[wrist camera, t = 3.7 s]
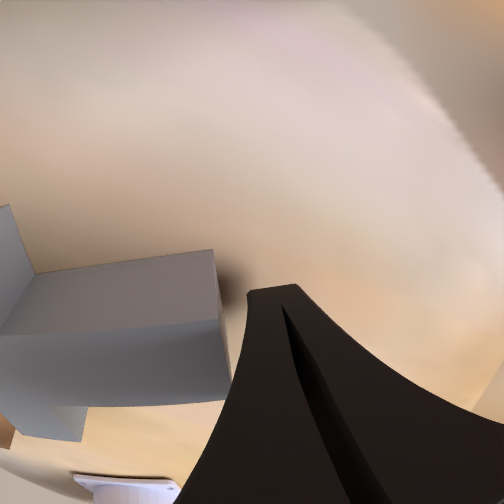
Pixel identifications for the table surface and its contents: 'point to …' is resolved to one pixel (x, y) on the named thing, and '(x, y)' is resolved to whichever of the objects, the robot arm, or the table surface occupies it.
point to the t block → (106, 337)
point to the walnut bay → (6, 432)
